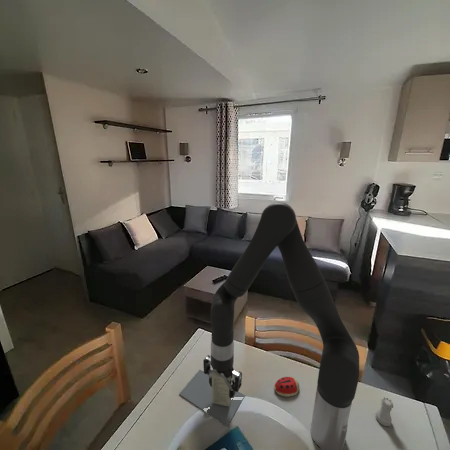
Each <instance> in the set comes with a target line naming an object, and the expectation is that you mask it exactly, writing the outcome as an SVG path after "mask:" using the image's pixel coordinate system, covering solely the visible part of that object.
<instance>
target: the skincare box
mask: <svg viewBox="0 0 450 450" xmlns="http://www.w3.org/2000/svg"><path fill="white" fill-rule="evenodd" d="M230 379H231V376H230V377H229V378H228V381H229V382H230ZM231 384H232V382H231ZM229 389H230V388H229V386H228V385H226V383H225V381H224V378H223V377H222V376H221V374H219V373H218V372H217V373H214V372H213V373H212V403H215V404H220V405H224V406H230V401H231V398H229Z"/></svg>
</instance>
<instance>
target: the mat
mask: <svg viewBox="0 0 450 450" xmlns="http://www.w3.org/2000/svg"><path fill="white" fill-rule="evenodd" d="M178 395H179V396H181V397H182V398H184V399H185V400H187V401H188V402H189V403H190V404H193V405H194V406H195V407H197V408H199V409H200V410H201V409H204V408H208V407H210V409H208V410H207V413H208V414H207V413H206V414H207V415H209V416H210V417H212V418H213V419H215V420H216V421H218V422H219V423H220V424H222V425H224V426H225V427H227V428H228V426H230V423H231V421H232V419H233V418H234V417H235V414H236V413H237V410H238V408H239V407H240V405H241V404H242V402H241V401H243V400H233V399H232V400H231V401H230V406H224V405H220V404H215V403H212V387H211V386H210V384H209V377H208V374H204V370H201V369H198V371H196V373H195V374H194V376H192V378H191V379H190V381H189V382H188V383H187V384H186V385H185V387H183V389H182V390H181V391H180V392H179V394H178ZM234 397H244V398H245V397H246V396H245V394H244V393H241V391H238V392H236V393H235V395H234ZM234 397H232V398H234Z"/></svg>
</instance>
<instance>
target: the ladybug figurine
mask: <svg viewBox="0 0 450 450" xmlns="http://www.w3.org/2000/svg"><path fill="white" fill-rule="evenodd" d="M300 387H301V386H300V384H299V381H298V380H297V379H296V378H295V377H293V376H283V377H281V378H279V379H278V380H276V382H275V383H274V387H273V388H274V389H273V390H274V391H275V393H276V394H278V395H279V396H281V397H286V398H287V397H292V396H295V395H297V394H298V393H299V391H300Z"/></svg>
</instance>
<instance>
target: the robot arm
mask: <svg viewBox="0 0 450 450" xmlns="http://www.w3.org/2000/svg"><path fill="white" fill-rule="evenodd" d="M276 248H278V250H279V252H280V255H281V258H282V262H283V265H284V270H285V273H286V277H287V281H288V283H289V286H290V289H291V291H292V293H293V295H294V297H295V300H296V302H297V304H298V306H299V307H300V308H301V310H302V311H303V312H305V313H306V315H308V317H310V319H311V320H312V321H313V322H314V324H315V326H316V328H317V330H318V332H319V335H320V338H321V341H322V351H321V357H320V362H319V369H318V375H317V383H316V389H315V390H316V391H315V396H314V397H315V399H314V404H313V410H312V417H311V423H310V434H311V438H312V440H313V441H315V442H316V443H315V442H314V443H315V445H316V446H317V445H318V446H319V447H320V450H344V448H345V442H346V437H347V434H348V427H349V426H348V424H349V418H350V413H351V410H352V405H353V404H352V402H353V400H354V399H355V396H356V394H357V393H356V392H357V388H358V384H359V379H360V354H359V349H358V348H357V345H356V344H355V342H354V340H353V338H352V336H351V335H350V333H349V331H348V330H347V328H346V326H345V324H344V323H343V321H342V319H341V316H340V314H339V311H338V309H337V306H336V304H335V301H334V298H333V296H332V294H331V292H330V289H329V287H328V284H327V282H326V280H325V278H324V276H323V274H322V272H321V269H320V267H319V266H318V264H317V262H316V260H315V258H314V257H313V255H312V253H311V251H310V250H309V249H308V247H307V245H306V243H305V240H304V238H303V235H302V233H301V230H300V227H299V223H298V220H297V215H296V212H295V210H294V209H293V207H292V206H291V205H290V204H287V203H285V202H282V201H279V202H273V203H271V204H269V205H267V206H266V207H265V208H264V210H263V211H262V213H261V215H260V219H259V222H258V224H257V227H256V230H255V232H254V234H253V236H252V238H251V240H250V242H249V243H248V245H247V247H246V248H245V250H244V251H243V253H242V254H241V256H240V257H239V259H237V262H236V263H235V265H234V266H233V267H232V269H231V271H230V272H229V273H228V275H227V277H226V279H225V281H224V282H222V283H221V285H220V286H219V287H218V289H216V292H214V295H213V296H212V299H211V300H212V301H211V304H210V305H211V306H210V323H211V325H210V326H211V341H210V354H207V355H206V357H204V359H203V365H202V366H203V371H204V374H208V377H209V384H210V386H211V387H212V373H213V372H214V373H217V372H218V373H219V374H221V376H222V377H223V378H224V381H225V383H226V385H228V386H229V388H230V389H229V398H232V397H234V395H235V393H236V392H239V390H240V389H241V387H242V384H243V383H242V379H243V373H242V371H238V372H237V371H235V369H234V360H235V359H234V358H235V357H234V356H235V353H234V352H235V341H234V339H235V338H234V333H235V332H234V320H235V304H236V301H237V299H238V298H241V297H243V296H245V294H246V293H247V292H248V290H249V289H250V287H251V286H252V284H253V283H254V281H255V279H256V278H257V276H258V275H259V273H260V271H261V269H262V267H264V264H265V263H266V261H267V260H268V258H269V257H270V255H271V254H272V253H273V251H274V250H275V249H276ZM230 376H231V379H230V382H229V381H228V378H229V377H230ZM231 382H232V384H231ZM318 446H317V447H318ZM319 447H318V448H319Z"/></svg>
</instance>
